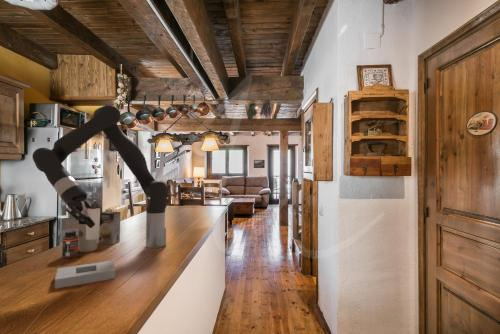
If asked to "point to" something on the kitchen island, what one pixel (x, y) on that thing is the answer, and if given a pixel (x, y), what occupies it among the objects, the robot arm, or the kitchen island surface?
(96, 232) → the plug
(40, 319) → the kitchen island surface
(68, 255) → the supplement bottle
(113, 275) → the socket
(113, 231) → the coffee box
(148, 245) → the robot arm
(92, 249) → the travel mug
